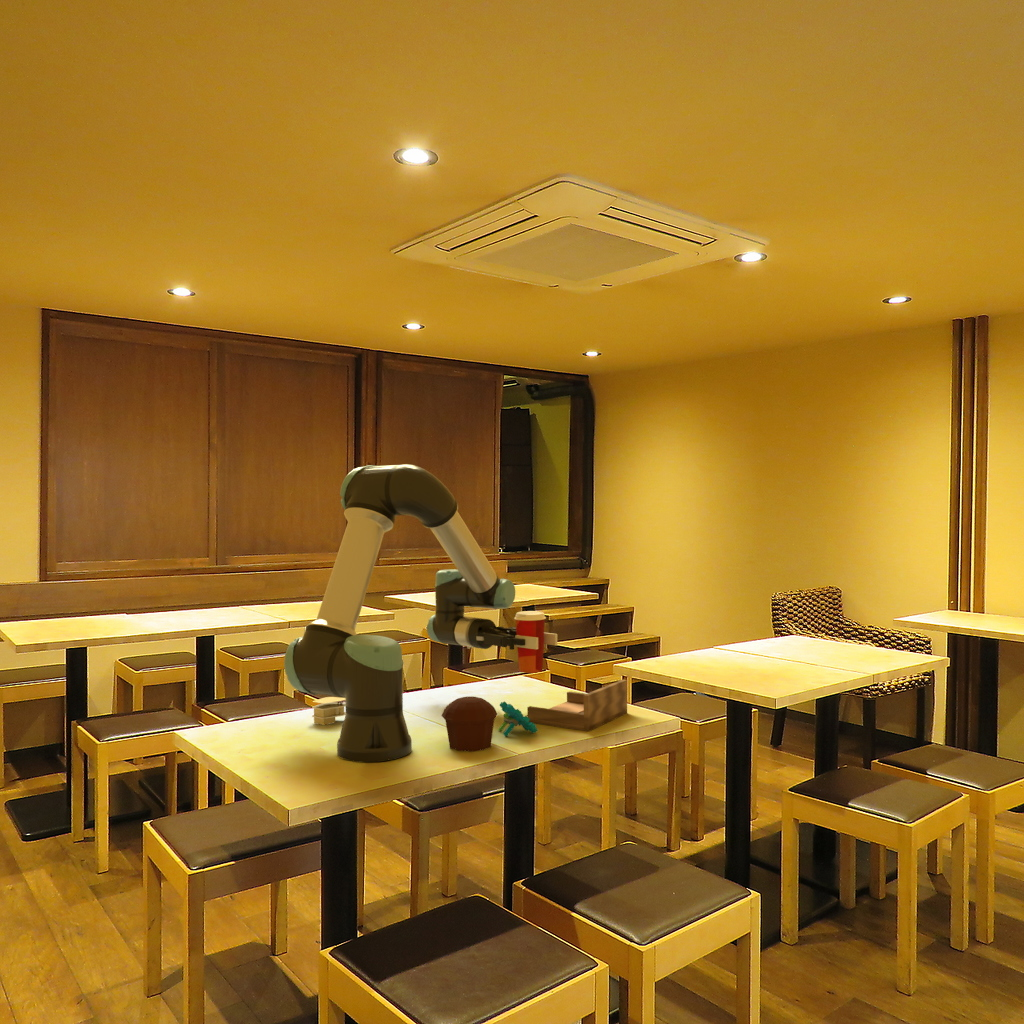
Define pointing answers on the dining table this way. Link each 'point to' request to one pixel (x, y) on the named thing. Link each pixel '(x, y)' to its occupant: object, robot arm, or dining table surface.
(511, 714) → the teal toy figurine
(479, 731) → the muffin
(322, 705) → the tan layered block
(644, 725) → the dining table surface
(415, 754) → the dining table surface
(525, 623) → the paper cup
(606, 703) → the bay
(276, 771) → the dining table surface
